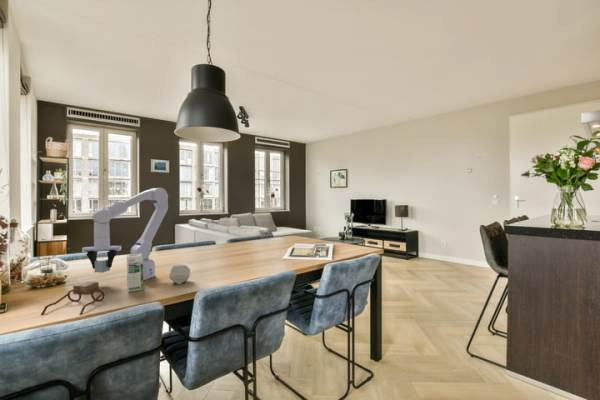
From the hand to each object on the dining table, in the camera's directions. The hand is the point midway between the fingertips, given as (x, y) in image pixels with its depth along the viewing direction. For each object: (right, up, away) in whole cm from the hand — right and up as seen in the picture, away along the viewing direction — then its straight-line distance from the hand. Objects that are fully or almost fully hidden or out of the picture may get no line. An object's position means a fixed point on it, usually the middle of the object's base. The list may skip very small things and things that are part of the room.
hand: (102, 267), depth 128 cm
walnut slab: (-1, -8, -8) cm, 11 cm away
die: (+33, -8, +3) cm, 34 cm away
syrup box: (+18, -8, -6) cm, 21 cm away
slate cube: (0, -2, 0) cm, 2 cm away
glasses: (+8, -9, -26) cm, 29 cm away
